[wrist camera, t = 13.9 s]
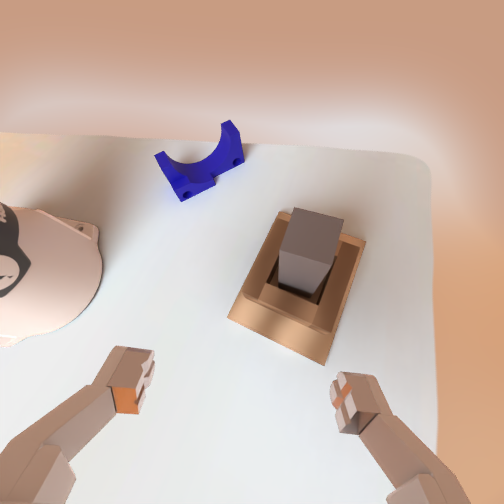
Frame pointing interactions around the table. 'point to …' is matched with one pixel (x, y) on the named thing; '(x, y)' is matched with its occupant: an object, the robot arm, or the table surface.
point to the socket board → (287, 326)
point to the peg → (307, 251)
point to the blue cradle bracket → (203, 165)
